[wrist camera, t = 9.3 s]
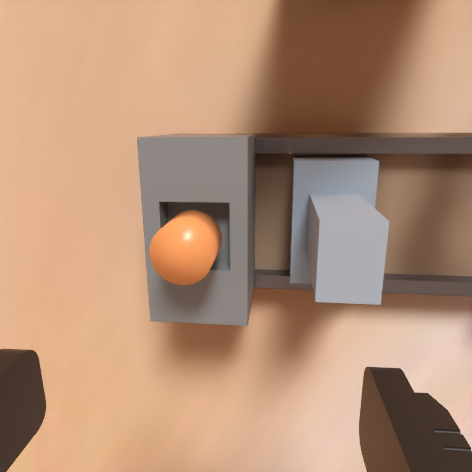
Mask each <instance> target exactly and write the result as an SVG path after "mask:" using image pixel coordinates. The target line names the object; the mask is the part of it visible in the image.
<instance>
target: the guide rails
mask: <svg viewBox="0 0 472 472" xmlns="http://www.w3.org/2000/svg"><path fill="white" fill-rule="evenodd" d="M255 153H308V154H472V137H255ZM254 288H275V289H300V290H313V287H312V284H301V283H290V270H270V269H255V271H254ZM382 293H401V294H426V295H451V296H472V276H445V275H416V274H387V273H384V278H383V288H382Z"/></svg>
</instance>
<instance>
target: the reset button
mask: <svg viewBox="0 0 472 472" xmlns="http://www.w3.org/2000/svg"><path fill="white" fill-rule="evenodd" d="M221 245H222V233H221V230H220V227H219V225H218V224H217V222H216V221H215V220H214V219H213V218H212V217H211V216H209V215H208V214H206V213H204V212H201V211H197V210H188V211H184V212H182V213H180V214H178V215H176V216H175V217H174V218H173V219H172V220H170V221H169V222H168V223H167V224H166V225H165V226H163V227H162V228H161V229H160V230H159V231H158V232H157V233H156V234H155V235H154V237H153V238H152V241H151V243H150V248H149V255H150V260H151V263H152V266H153V267H154V269H155V270H156V272H157V273H158V274H159V275H160V276H161V277H162V278H163V279H165V280H167V281H169V282H171V283H174V284H178V285H190V284H193V283H196V282H198V281H200V280H201V279H203V278H204V277H205V276H206V275H207V273H208V272H209V270H210V268H211V266H212V264H213V262H214V260H215V258H216V256H217V254H218V252H219V250H220V248H221Z"/></svg>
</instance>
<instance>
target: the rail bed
mask: <svg viewBox="0 0 472 472" xmlns="http://www.w3.org/2000/svg"><path fill="white" fill-rule="evenodd" d="M173 135H216V134H173ZM256 137H472V133H330V134H256ZM293 157H370V158H372V159H375V160H378V161H379V170H378V181H377V192H376V202H375V209H376V210H377V211H378V212H379V213H381V214H382V215H383V216H384V217H385V218H386V219H387V220H388V221H389V230H388V239H387V249H386V259H385V268H384V273H387V274H416V275H445V276H472V154H308V153H256V182H255V269H270V270H289V263H290V232H291V201H292V171H293Z"/></svg>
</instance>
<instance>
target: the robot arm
mask: <svg viewBox="0 0 472 472" xmlns="http://www.w3.org/2000/svg"><path fill="white" fill-rule="evenodd" d="M45 411H46V400H45V394H44V387H43V381H42V375H41V369H40V363H39V358H38V355H37V353H36V352H35V351H33V350H19V349H0V472H6V471H7V470H8V469H9V467H10V466H11V465H12V464H13V462H14V461H15V460H16V458H17V457H18V456H19V455H20V453H21V452H22V451H23V449H24V448H25V447H26V446H27V444H28V443H29V442H30V440H31V439H32V438H33V436H34V435H35V434H36V433H37V431H38V430H39V428H40V426H41V424H42V422H43V419H44V416H45ZM359 437H360V445H361V451H362V455H363V459H364V463H365V466H366V470H367V472H472V452H471V447H470V446H469V444H468V442H467V441H466V439H465V438H464V436H463V435H461V434H460V429H459V428H458V426H457V425H456V423H455V421H454V420H453V418H452V416H451V415H450V413H449V412H448V410H447V409H446V408H444V407H443V406H442V405H441V404H440V403H439V402H437V401H436V400H435V399H434V398H433V397H432V396H430V395H429V394H428V393H414V391H413V389H412V387H411V386H410V384H409V382H408V380H407V378H406V376H405V374H404V372H403V371H402V370H401V369H400V368H380V367H366V369H365V371H364V378H363V388H362V399H361V409H360V420H359Z"/></svg>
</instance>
